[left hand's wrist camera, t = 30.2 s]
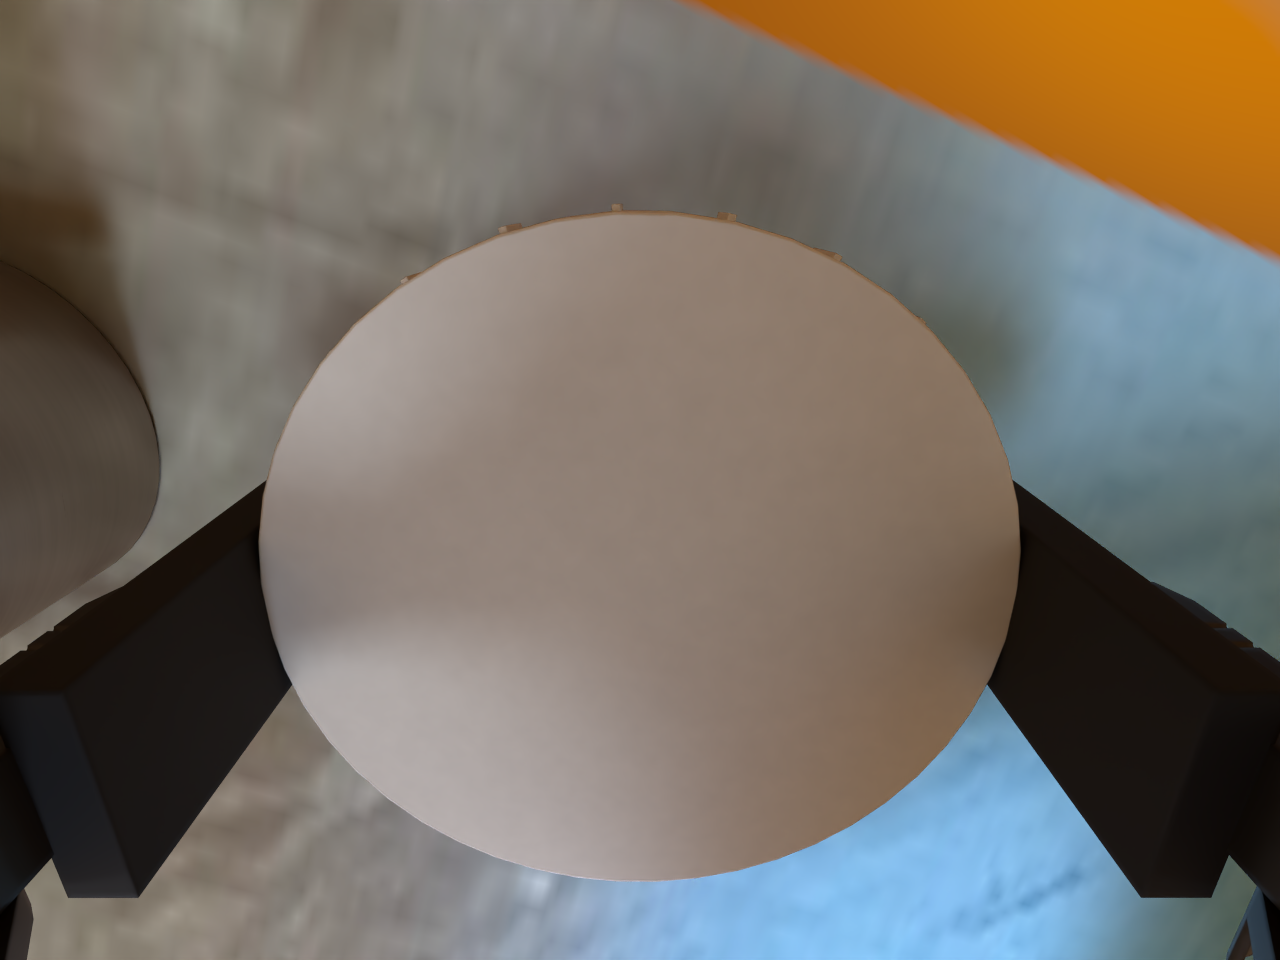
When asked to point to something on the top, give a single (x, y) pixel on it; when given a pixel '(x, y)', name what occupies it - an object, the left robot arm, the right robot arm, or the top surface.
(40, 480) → the jar
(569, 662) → the lid
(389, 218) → the top surface
